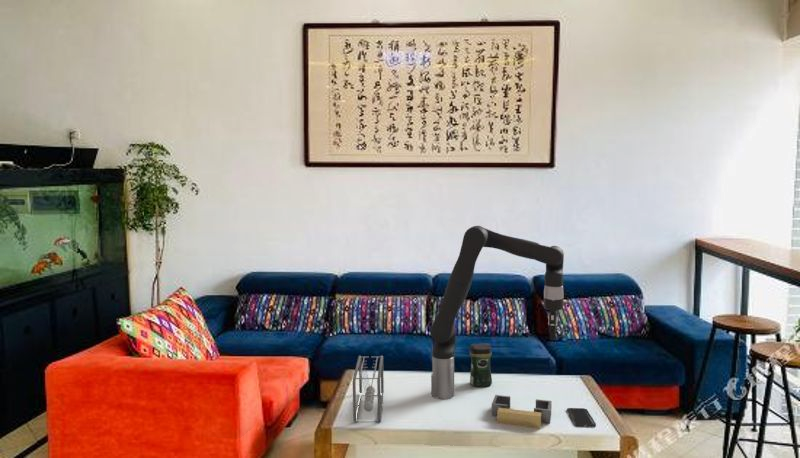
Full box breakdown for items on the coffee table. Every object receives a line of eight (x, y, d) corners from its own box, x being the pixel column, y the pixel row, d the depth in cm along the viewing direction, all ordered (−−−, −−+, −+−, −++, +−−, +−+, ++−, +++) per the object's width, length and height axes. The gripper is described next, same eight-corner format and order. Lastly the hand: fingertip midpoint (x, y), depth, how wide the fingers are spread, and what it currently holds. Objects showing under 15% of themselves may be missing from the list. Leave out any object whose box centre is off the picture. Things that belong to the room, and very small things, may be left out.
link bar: (497, 424, 213) (497, 411, 213) (498, 420, 217) (498, 407, 216) (540, 429, 208) (540, 416, 208) (541, 425, 212) (541, 412, 211)
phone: (586, 408, 224) (596, 425, 209) (586, 411, 224) (596, 427, 209) (566, 408, 225) (574, 424, 210) (566, 410, 225) (574, 427, 210)
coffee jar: (489, 380, 257) (489, 340, 255) (493, 386, 249) (493, 346, 248) (468, 381, 256) (468, 341, 255) (472, 387, 249) (472, 347, 247)
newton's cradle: (359, 394, 244) (358, 354, 242) (383, 393, 244) (383, 353, 242) (353, 424, 214) (352, 379, 212) (380, 424, 214) (380, 379, 212)
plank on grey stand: (491, 416, 219) (491, 404, 219) (495, 406, 228) (495, 394, 228) (549, 423, 212) (550, 410, 212) (551, 413, 221) (551, 401, 221)
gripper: (545, 292, 230) (544, 331, 232) (542, 300, 217) (542, 341, 219) (564, 293, 228) (563, 332, 230) (562, 301, 215) (562, 342, 216)
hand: (553, 336), depth 224 cm, fingers open, 8 cm apart
